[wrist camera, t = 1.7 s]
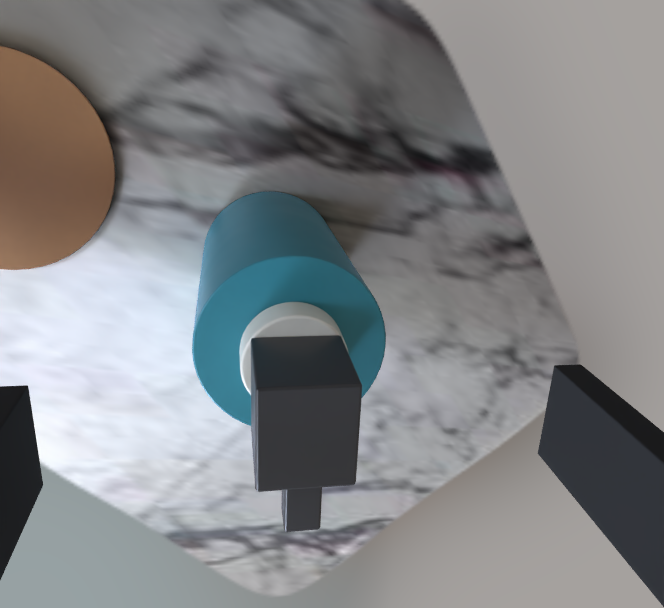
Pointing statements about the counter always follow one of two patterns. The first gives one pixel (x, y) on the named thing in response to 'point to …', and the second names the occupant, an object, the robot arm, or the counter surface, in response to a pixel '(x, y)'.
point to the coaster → (48, 164)
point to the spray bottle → (287, 345)
